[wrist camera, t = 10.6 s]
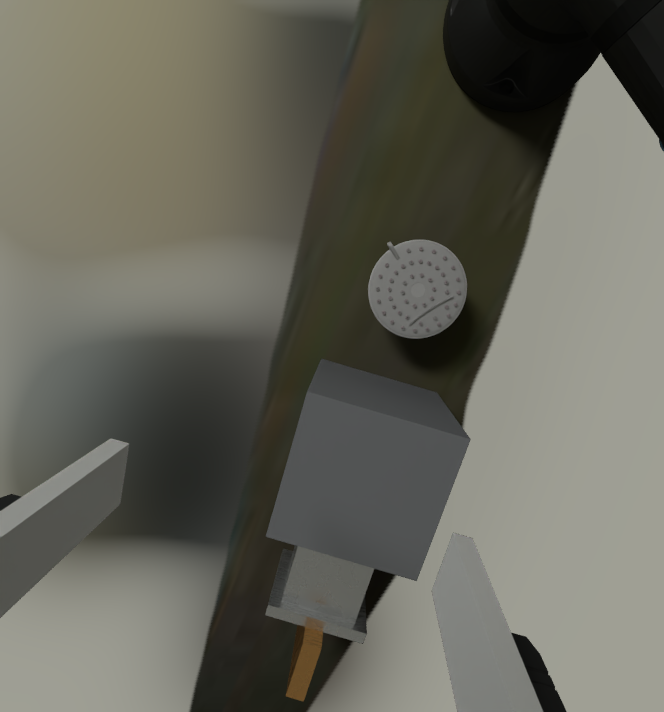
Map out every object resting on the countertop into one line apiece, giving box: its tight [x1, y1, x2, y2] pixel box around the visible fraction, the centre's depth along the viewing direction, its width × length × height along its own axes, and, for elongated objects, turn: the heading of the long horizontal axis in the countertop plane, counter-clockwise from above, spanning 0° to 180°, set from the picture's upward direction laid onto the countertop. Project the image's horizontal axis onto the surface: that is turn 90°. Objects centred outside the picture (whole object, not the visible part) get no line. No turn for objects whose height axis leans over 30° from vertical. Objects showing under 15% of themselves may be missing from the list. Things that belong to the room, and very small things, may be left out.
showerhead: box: [368, 240, 467, 339], centre depth 41 cm, size 9×7×10 cm
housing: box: [266, 359, 470, 581], centre depth 41 cm, size 14×14×14 cm
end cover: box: [265, 545, 374, 701], centre depth 42 cm, size 19×10×10 cm, turn 164°
